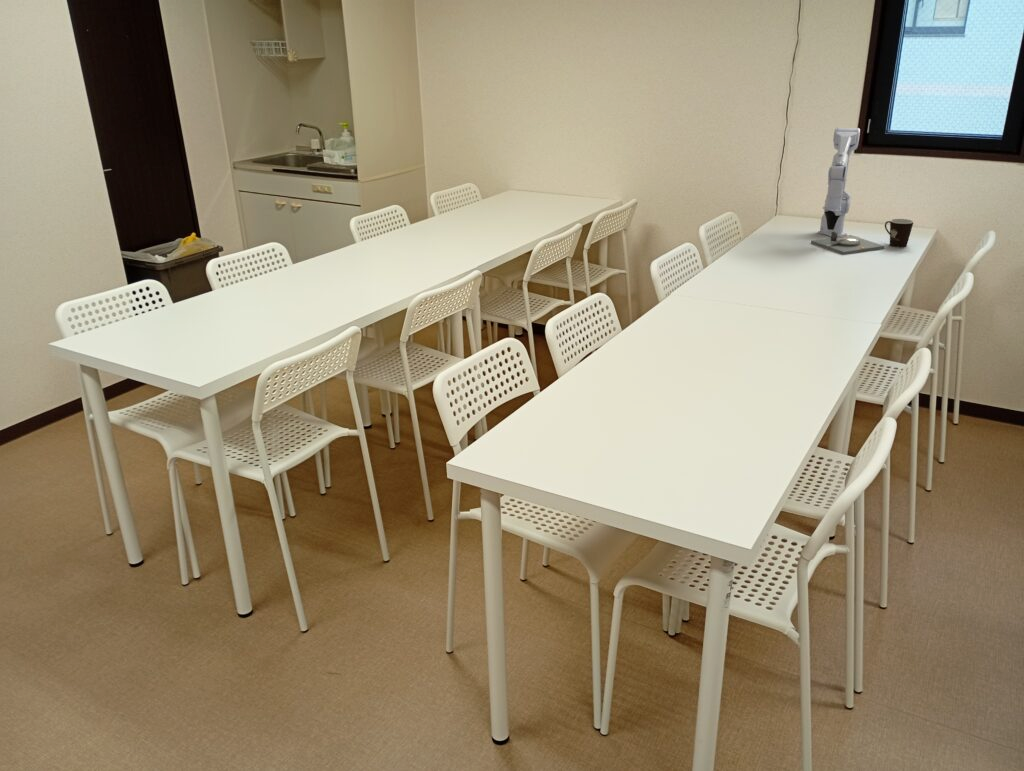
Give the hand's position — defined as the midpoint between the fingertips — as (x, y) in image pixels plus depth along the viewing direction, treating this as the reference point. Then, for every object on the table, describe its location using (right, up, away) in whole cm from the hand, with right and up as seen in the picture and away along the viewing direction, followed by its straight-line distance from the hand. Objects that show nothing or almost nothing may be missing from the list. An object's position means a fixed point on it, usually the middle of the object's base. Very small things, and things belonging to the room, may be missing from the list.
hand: (830, 229), depth 341 cm
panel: (+7, -7, 0) cm, 10 cm away
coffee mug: (+27, -7, -1) cm, 28 cm away
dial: (+5, -6, -1) cm, 8 cm away
